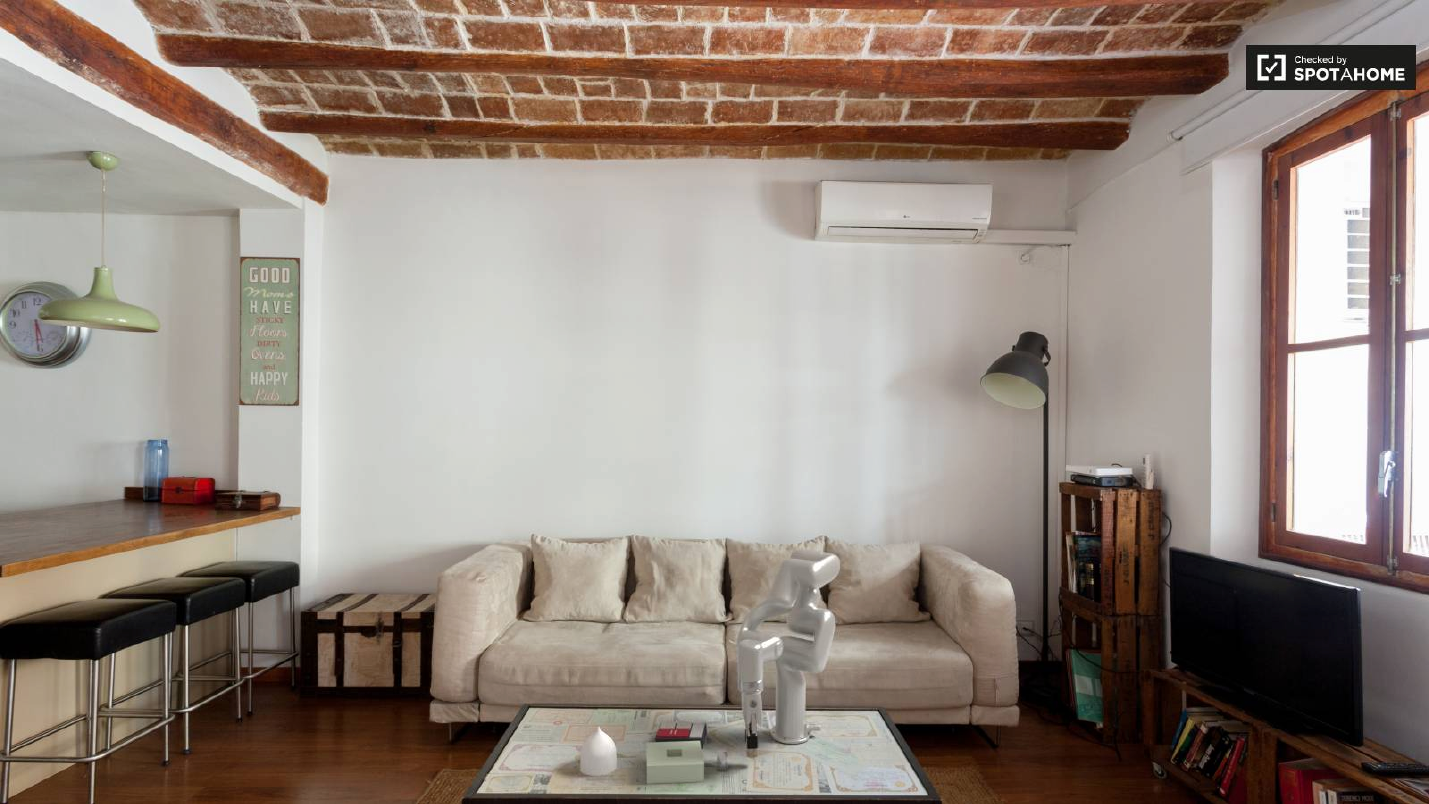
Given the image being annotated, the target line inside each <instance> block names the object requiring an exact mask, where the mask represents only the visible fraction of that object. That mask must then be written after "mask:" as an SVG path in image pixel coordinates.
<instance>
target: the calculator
mask: <svg viewBox="0 0 1429 804" xmlns="http://www.w3.org/2000/svg"><path fill="white" fill-rule="evenodd" d="M707 729H708V726H707V723H705V722H692V721H678V722H676V721H662V722H660V725H659V727H658V730H657V732H656V735H655V737H654V742H681V741H700V743H701V749H702V750H704V747H705V743H706V740H705V739H707V735H708V730H707Z"/></svg>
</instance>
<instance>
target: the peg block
mask: <svg viewBox="0 0 1429 804" xmlns="http://www.w3.org/2000/svg"><path fill="white" fill-rule="evenodd" d="M704 771H705V762H704V757H703V749H701V743H700V741H681V742H655V741H654V742H646V784H647V785H650V784H651V785H652V784H655V785H656V784H675V783H676V784H679V783H702V782H703V783H704V782H705V772H704Z"/></svg>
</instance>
